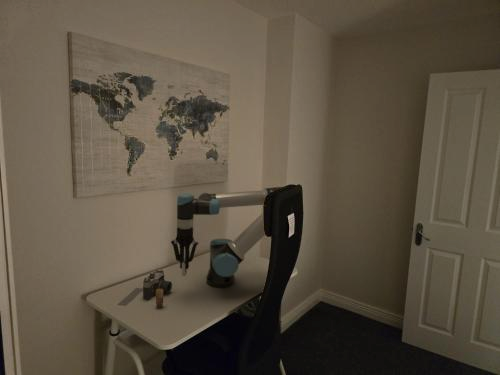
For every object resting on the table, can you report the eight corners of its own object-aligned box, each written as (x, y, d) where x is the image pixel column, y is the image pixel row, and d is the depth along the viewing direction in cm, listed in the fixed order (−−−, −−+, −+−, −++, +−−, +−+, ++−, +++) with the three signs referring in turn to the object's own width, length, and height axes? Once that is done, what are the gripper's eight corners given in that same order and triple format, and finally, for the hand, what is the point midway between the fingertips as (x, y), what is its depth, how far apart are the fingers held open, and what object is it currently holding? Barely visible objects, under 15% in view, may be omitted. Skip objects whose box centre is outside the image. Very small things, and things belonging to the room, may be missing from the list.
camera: (160, 302, 151) (160, 282, 150) (141, 299, 153) (140, 279, 152) (175, 288, 166) (176, 269, 165) (157, 285, 168) (157, 266, 167)
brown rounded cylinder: (164, 305, 148) (164, 289, 147) (161, 309, 145) (161, 292, 144) (157, 304, 149) (157, 288, 147) (154, 308, 145) (154, 291, 144)
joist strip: (143, 288, 164) (143, 288, 164) (125, 305, 147) (125, 305, 147) (136, 288, 164) (136, 287, 164) (117, 304, 148) (117, 304, 148)
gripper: (200, 226, 156) (199, 273, 160) (174, 223, 158) (174, 270, 162) (196, 230, 149) (194, 279, 152) (168, 227, 151) (168, 276, 154)
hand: (184, 274), depth 157 cm, fingers closed
